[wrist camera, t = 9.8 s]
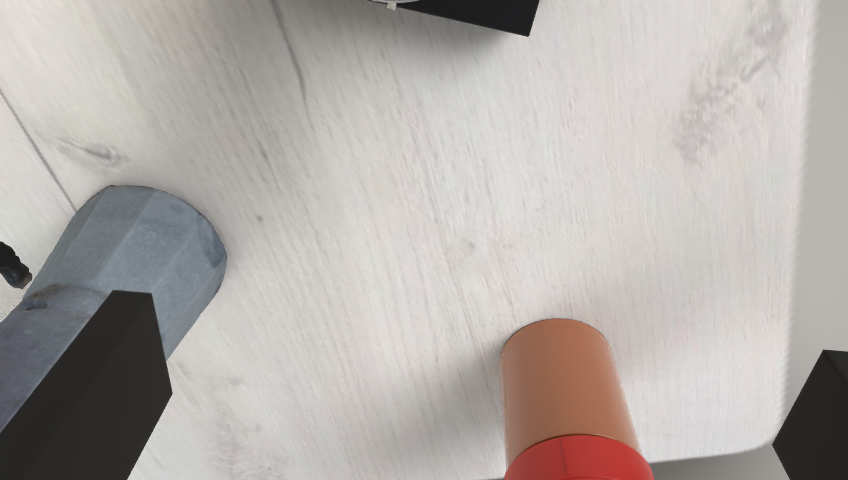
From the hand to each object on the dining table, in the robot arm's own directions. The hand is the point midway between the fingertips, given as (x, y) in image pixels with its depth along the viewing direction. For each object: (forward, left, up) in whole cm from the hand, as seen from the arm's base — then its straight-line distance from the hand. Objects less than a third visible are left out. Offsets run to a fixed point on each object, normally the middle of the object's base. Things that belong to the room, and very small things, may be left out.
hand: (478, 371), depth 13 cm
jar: (-10, +17, -21) cm, 29 cm away
